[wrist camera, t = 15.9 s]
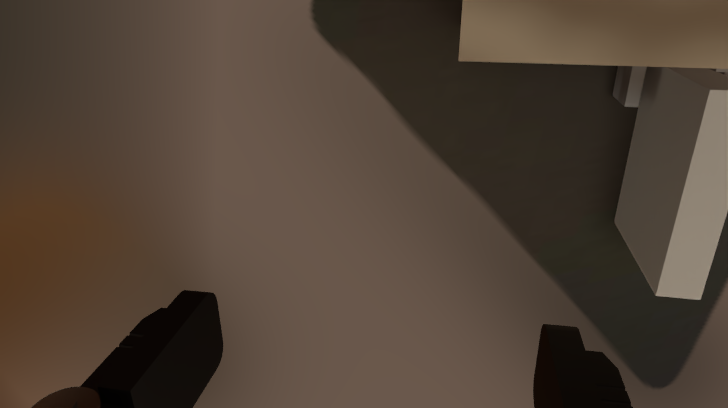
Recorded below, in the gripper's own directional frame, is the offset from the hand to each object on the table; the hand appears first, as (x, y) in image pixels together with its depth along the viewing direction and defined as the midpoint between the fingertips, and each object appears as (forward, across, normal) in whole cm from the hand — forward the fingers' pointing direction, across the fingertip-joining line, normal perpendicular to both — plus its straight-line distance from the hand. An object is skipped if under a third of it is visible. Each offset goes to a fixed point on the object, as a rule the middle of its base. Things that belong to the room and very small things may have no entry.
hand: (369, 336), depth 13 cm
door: (+28, -15, +3) cm, 32 cm away
